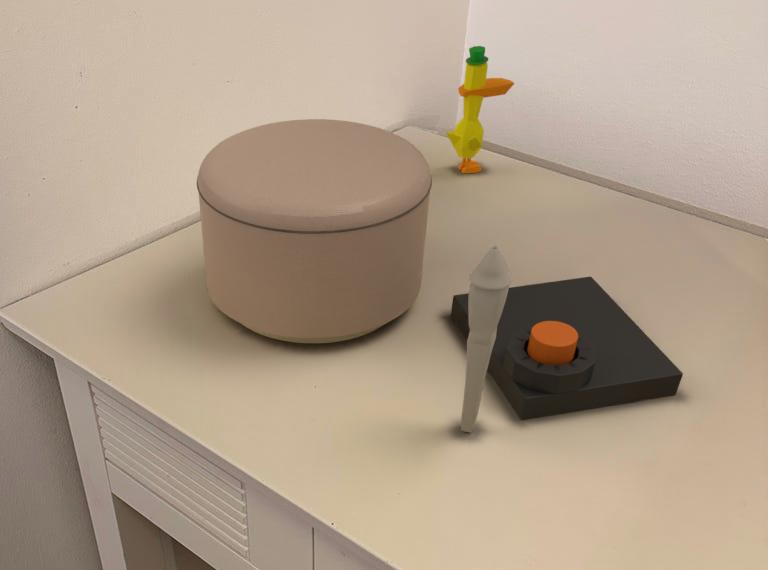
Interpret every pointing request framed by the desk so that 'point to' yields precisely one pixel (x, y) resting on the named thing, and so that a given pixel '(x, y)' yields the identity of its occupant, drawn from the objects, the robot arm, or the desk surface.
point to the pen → (483, 327)
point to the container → (314, 228)
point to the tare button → (552, 343)
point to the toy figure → (474, 108)
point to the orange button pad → (592, 354)
